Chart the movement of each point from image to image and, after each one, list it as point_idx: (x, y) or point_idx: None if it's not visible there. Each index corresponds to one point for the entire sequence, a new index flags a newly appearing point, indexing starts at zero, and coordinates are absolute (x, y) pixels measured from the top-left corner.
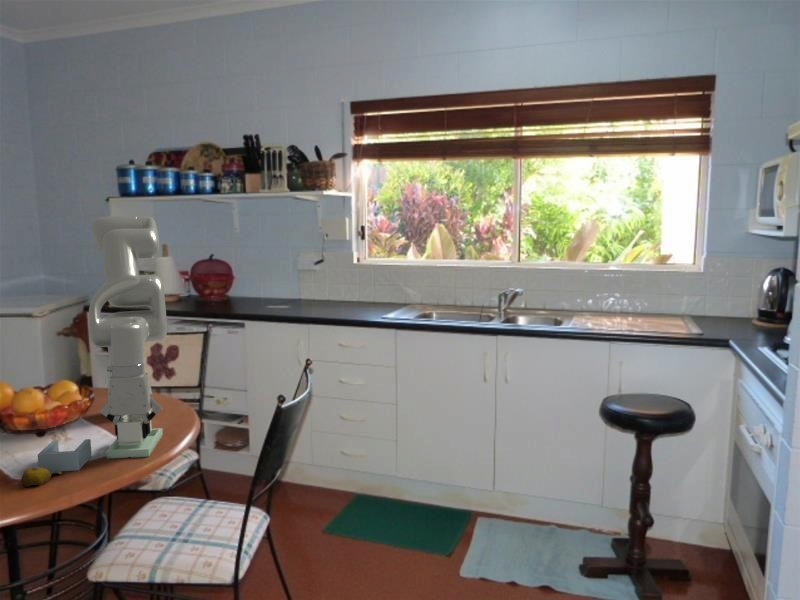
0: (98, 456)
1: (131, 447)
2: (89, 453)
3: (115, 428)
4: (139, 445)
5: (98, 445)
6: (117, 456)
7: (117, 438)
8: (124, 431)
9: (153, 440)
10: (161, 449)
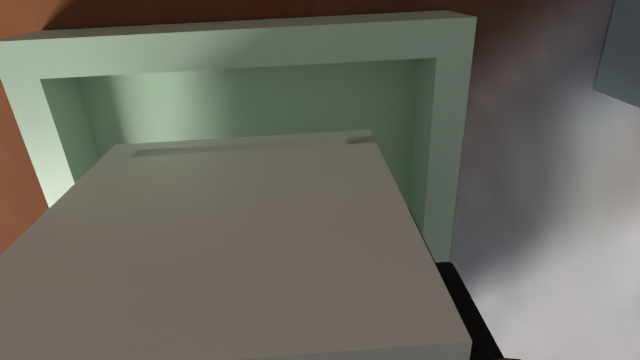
0: (532, 72)
1: None
2: (637, 47)
3: (477, 323)
4: None
5: (562, 279)
6: (347, 15)
7: (409, 210)
8: (299, 223)
9: None
10: (22, 193)
